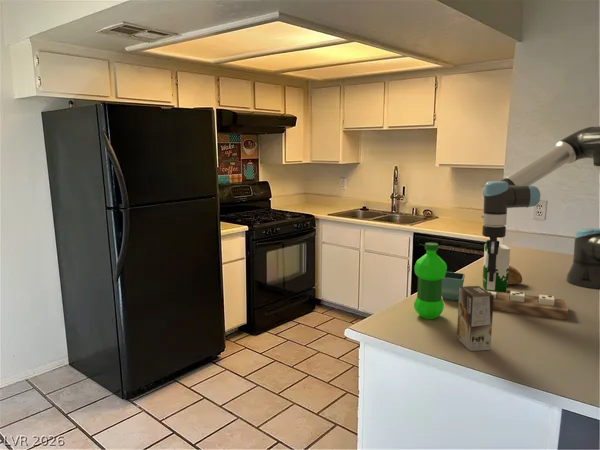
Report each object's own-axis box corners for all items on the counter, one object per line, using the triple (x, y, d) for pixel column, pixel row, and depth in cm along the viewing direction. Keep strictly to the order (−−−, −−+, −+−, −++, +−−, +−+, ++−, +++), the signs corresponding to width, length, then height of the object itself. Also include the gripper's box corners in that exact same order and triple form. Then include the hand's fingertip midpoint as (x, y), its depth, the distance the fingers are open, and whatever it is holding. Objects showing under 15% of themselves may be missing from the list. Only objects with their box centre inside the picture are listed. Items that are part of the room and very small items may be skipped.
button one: (495, 301, 159) (496, 291, 159) (495, 305, 156) (496, 295, 155) (482, 299, 161) (483, 290, 161) (482, 303, 157) (482, 293, 157)
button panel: (563, 307, 154) (564, 299, 153) (567, 319, 143) (568, 311, 142) (472, 296, 166) (473, 288, 166) (469, 306, 156) (470, 298, 155)
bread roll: (520, 288, 175) (522, 269, 174) (481, 283, 183) (482, 265, 181) (522, 282, 183) (524, 264, 182) (484, 277, 191) (485, 259, 190)
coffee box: (491, 350, 122) (495, 295, 119) (469, 351, 121) (473, 296, 119) (475, 336, 131) (479, 285, 128) (455, 337, 130) (458, 286, 128)
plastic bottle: (434, 309, 153) (437, 240, 149) (450, 320, 143) (454, 246, 139) (407, 311, 151) (410, 241, 147) (422, 323, 141) (425, 248, 137)
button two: (552, 305, 152) (553, 295, 151) (553, 309, 148) (554, 299, 147) (538, 303, 153) (539, 293, 153) (538, 307, 150) (539, 297, 149)
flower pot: (463, 295, 167) (465, 273, 166) (461, 303, 159) (463, 279, 158) (440, 293, 171) (441, 270, 169) (437, 299, 163) (438, 276, 162)
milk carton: (480, 286, 179) (483, 238, 175) (503, 287, 177) (507, 239, 173) (484, 293, 170) (487, 243, 167) (509, 294, 168) (513, 243, 165)
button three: (523, 302, 155) (524, 292, 155) (523, 306, 152) (524, 295, 151) (509, 300, 157) (510, 290, 157) (509, 304, 153) (510, 294, 153)
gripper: (483, 221, 161) (480, 283, 165) (481, 227, 149) (478, 293, 154) (506, 222, 158) (502, 285, 162) (505, 229, 146) (501, 296, 150)
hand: (490, 289), depth 158 cm, fingers closed
